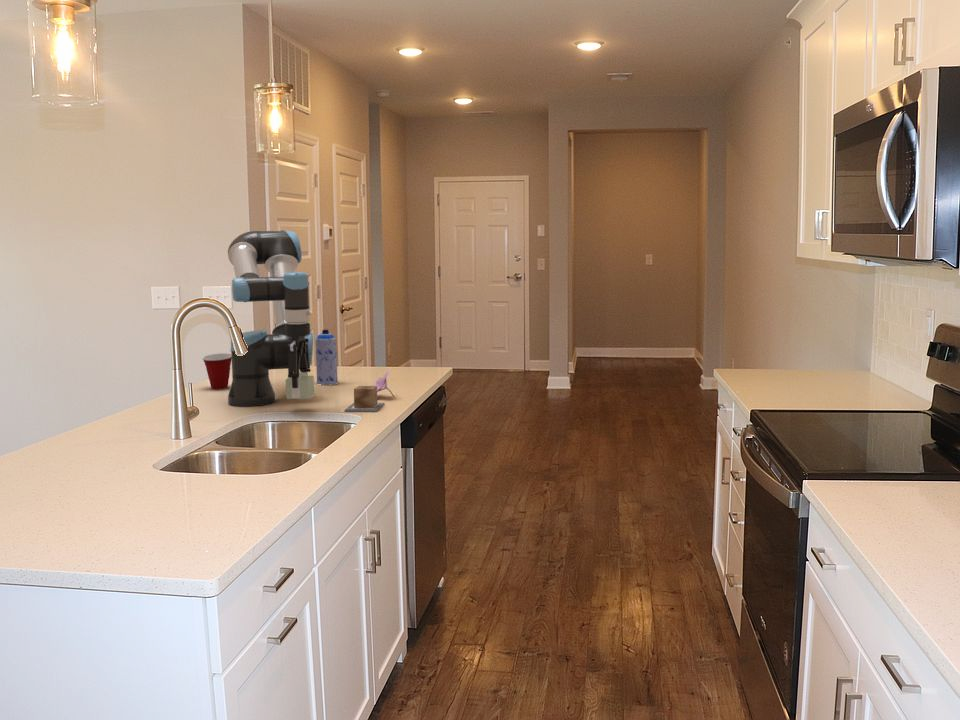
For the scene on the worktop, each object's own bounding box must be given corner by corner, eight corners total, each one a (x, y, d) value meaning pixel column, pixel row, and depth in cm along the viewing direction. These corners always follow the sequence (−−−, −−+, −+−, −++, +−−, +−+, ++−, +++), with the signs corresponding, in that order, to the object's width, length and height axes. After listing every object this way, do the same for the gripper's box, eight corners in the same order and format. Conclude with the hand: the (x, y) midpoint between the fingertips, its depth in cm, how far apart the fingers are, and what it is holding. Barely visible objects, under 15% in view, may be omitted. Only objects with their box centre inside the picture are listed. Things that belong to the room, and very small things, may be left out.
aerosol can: (342, 383, 328) (340, 329, 325) (325, 386, 322) (323, 331, 320) (329, 381, 333) (327, 328, 331) (312, 383, 328) (310, 329, 325)
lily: (379, 396, 307) (365, 373, 304) (408, 384, 303) (395, 361, 300) (371, 413, 296) (357, 390, 293) (401, 401, 293) (387, 377, 289)
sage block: (286, 398, 274) (285, 379, 273) (292, 394, 281) (291, 375, 280) (308, 398, 274) (307, 379, 273) (314, 394, 281) (313, 375, 280)
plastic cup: (197, 389, 318) (195, 356, 316) (215, 384, 328) (213, 352, 326) (223, 391, 314) (221, 357, 313) (240, 386, 325) (239, 353, 323)
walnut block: (354, 407, 278) (353, 389, 277) (359, 404, 284) (358, 385, 283) (373, 408, 277) (372, 389, 277) (377, 404, 283) (376, 385, 282)
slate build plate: (344, 411, 276) (344, 409, 276) (354, 404, 287) (354, 402, 287) (376, 412, 274) (376, 410, 274) (384, 404, 286) (384, 402, 286)
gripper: (299, 327, 263) (302, 402, 267) (318, 318, 283) (321, 388, 287) (274, 326, 264) (278, 402, 268) (295, 318, 284) (298, 388, 288)
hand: (300, 395), depth 278 cm, fingers closed on sage block, 7 cm apart
